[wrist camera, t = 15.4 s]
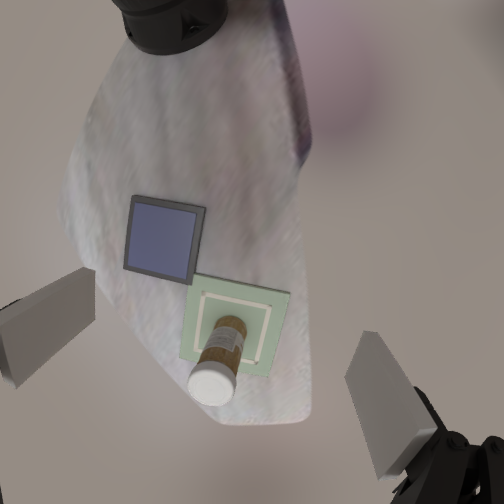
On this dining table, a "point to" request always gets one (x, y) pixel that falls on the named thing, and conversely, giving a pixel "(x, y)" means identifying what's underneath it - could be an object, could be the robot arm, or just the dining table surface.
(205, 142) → the dining table surface
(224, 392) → the sprinkles bottle
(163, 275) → the ink pad
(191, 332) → the board
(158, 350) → the dining table surface
